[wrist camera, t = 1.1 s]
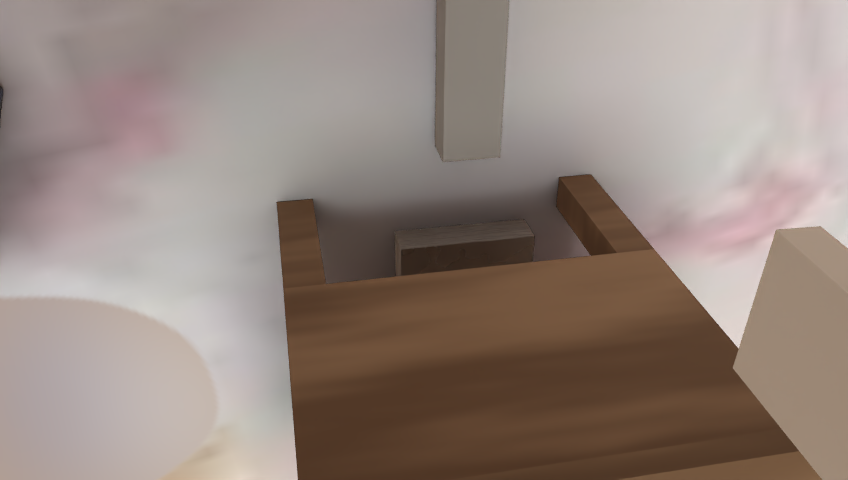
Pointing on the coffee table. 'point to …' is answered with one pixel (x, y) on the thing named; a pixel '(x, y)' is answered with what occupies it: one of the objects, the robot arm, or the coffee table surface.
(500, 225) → the token
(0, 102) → the box
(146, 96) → the coffee table surface
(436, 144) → the orange-headed mallet
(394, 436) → the cabinet
